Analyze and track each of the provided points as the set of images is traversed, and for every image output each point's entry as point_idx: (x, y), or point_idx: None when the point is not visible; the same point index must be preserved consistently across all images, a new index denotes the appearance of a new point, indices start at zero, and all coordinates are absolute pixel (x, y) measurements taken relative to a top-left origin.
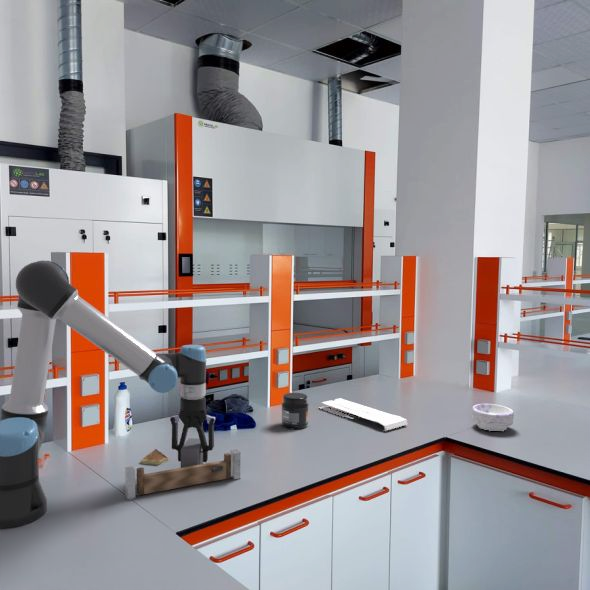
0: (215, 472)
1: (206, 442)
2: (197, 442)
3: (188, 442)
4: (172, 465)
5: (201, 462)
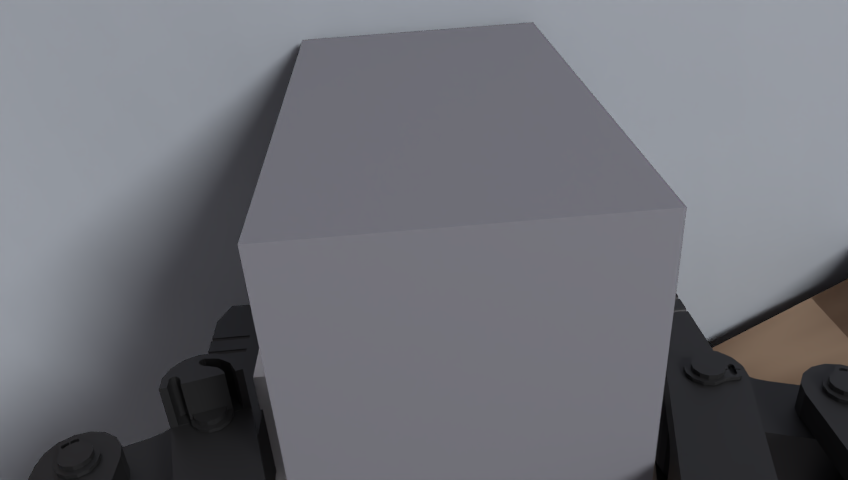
0: None
1: (767, 475)
2: (552, 447)
3: (351, 475)
4: (44, 6)
5: None
